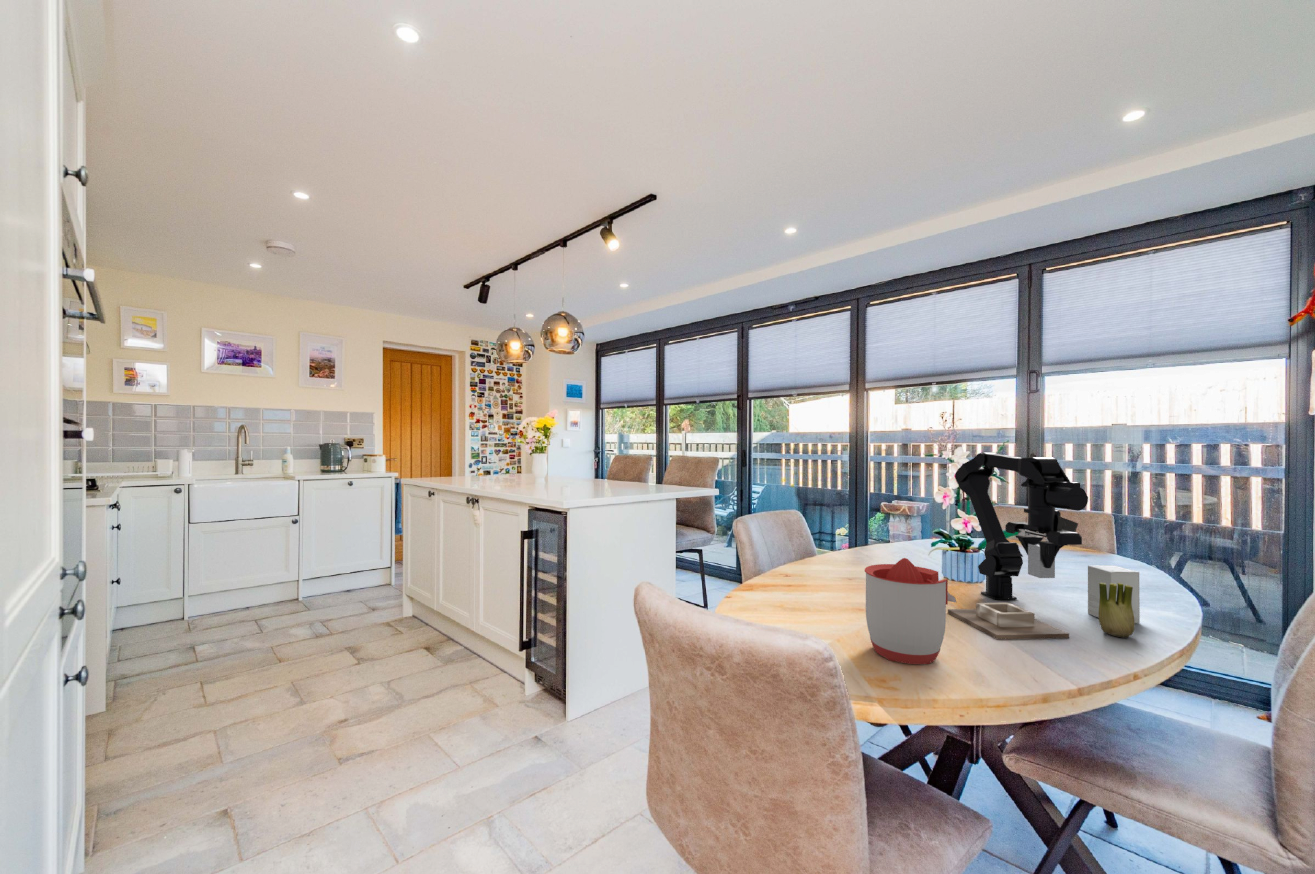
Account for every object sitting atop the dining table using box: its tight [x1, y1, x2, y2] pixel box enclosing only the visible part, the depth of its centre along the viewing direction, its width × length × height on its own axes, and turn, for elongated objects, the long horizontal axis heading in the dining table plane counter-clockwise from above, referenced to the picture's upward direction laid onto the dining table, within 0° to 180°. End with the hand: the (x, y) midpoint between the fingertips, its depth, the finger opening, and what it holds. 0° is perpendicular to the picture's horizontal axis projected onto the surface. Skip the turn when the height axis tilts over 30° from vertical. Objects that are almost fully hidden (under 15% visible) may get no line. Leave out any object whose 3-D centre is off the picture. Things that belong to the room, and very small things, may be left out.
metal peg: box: [1027, 544, 1056, 579], centre depth 138 cm, size 4×4×8 cm
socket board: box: [947, 602, 1070, 640], centre depth 129 cm, size 18×17×4 cm
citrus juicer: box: [864, 557, 957, 665], centre depth 110 cm, size 16×17×20 cm
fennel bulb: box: [1098, 583, 1136, 639], centre depth 122 cm, size 6×5×12 cm
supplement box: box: [1087, 564, 1141, 624], centre depth 134 cm, size 7×7×13 cm
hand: (1041, 566), depth 138 cm, fingers closed on metal peg, 4 cm apart
